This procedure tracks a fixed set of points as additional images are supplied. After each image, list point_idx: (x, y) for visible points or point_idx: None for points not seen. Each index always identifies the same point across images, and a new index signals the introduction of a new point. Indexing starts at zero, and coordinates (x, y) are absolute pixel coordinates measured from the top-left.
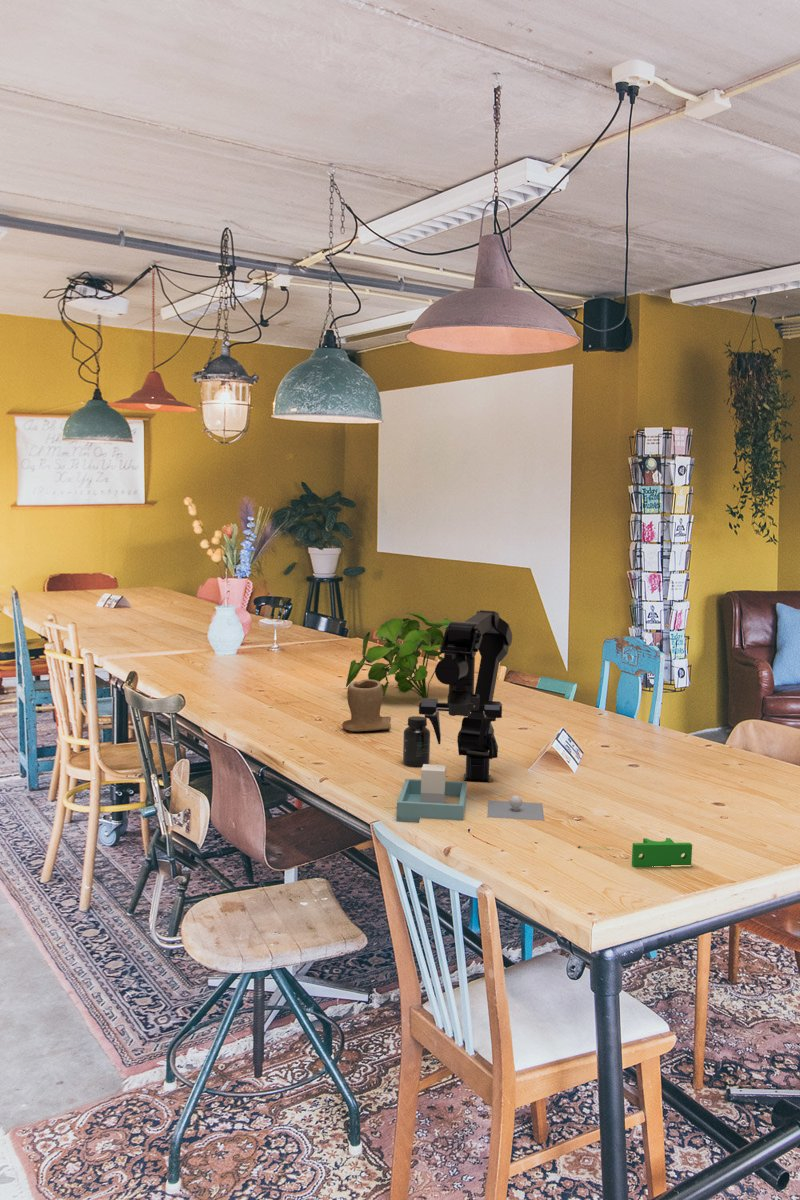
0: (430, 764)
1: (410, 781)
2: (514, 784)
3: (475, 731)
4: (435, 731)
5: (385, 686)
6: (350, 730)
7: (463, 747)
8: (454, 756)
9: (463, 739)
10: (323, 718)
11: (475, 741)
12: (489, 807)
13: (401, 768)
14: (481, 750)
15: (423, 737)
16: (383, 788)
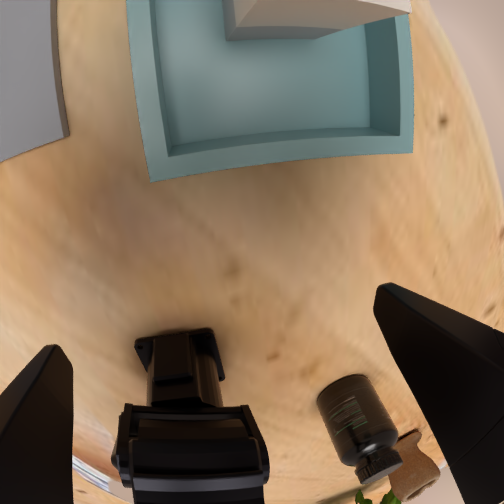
0: (373, 3)
1: (393, 135)
2: (80, 357)
3: (188, 490)
4: (483, 327)
5: (358, 502)
6: (415, 432)
7: (232, 422)
8: (269, 443)
9: (238, 449)
10: (425, 440)
11: (180, 449)
12: (46, 53)
13: (374, 358)
14: (154, 420)
15: (356, 439)
16: (427, 199)
